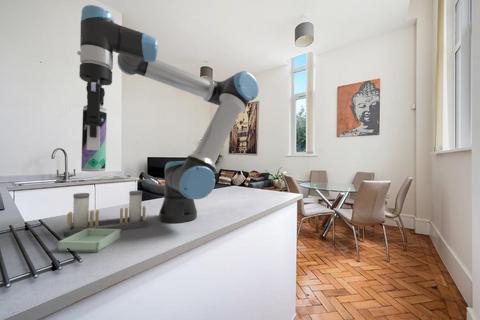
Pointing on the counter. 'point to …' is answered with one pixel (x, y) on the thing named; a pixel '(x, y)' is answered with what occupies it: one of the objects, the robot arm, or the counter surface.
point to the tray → (90, 240)
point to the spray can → (96, 158)
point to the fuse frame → (106, 222)
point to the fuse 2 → (135, 206)
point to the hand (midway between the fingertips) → (94, 150)
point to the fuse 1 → (80, 210)
